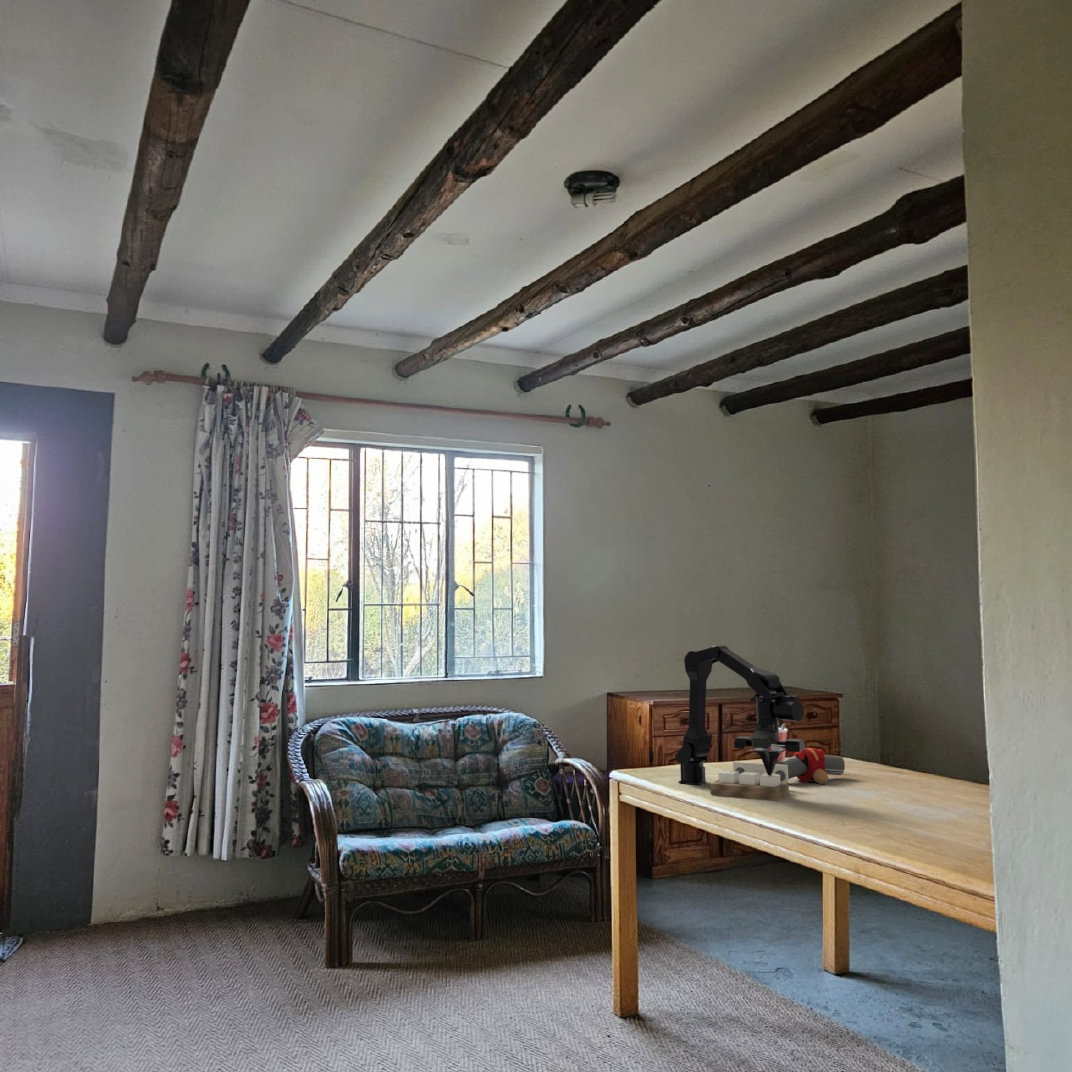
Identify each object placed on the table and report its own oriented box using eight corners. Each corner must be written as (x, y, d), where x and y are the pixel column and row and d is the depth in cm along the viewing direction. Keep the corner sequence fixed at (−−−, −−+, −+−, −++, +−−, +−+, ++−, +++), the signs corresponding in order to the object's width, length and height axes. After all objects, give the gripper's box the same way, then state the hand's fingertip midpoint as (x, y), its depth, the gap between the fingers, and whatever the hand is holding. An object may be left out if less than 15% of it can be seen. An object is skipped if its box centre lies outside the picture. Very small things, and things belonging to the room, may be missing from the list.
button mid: (739, 788, 258) (738, 774, 258) (744, 786, 261) (744, 771, 262) (754, 790, 255) (754, 775, 256) (759, 787, 259) (759, 773, 259)
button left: (719, 787, 261) (718, 772, 261) (724, 784, 264) (723, 770, 265) (734, 788, 258) (733, 773, 259) (739, 785, 262) (738, 771, 262)
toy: (766, 787, 279) (797, 794, 265) (760, 753, 280) (791, 758, 266) (825, 770, 288) (858, 776, 274) (819, 737, 288) (852, 741, 275)
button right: (760, 790, 254) (759, 775, 255) (765, 787, 258) (764, 773, 258) (776, 791, 252) (775, 777, 252) (780, 789, 256) (780, 774, 256)
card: (733, 786, 270) (732, 761, 271) (734, 785, 271) (733, 761, 272) (787, 790, 262) (786, 765, 263) (788, 789, 263) (787, 765, 263)
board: (710, 794, 258) (710, 783, 259) (724, 787, 268) (723, 777, 268) (777, 800, 248) (776, 789, 249) (789, 793, 258) (788, 782, 258)
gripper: (725, 720, 255) (727, 777, 253) (792, 723, 245) (795, 782, 244) (739, 716, 264) (741, 771, 263) (804, 718, 255) (806, 776, 253)
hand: (769, 775), depth 255 cm, fingers closed, pressing on button right
